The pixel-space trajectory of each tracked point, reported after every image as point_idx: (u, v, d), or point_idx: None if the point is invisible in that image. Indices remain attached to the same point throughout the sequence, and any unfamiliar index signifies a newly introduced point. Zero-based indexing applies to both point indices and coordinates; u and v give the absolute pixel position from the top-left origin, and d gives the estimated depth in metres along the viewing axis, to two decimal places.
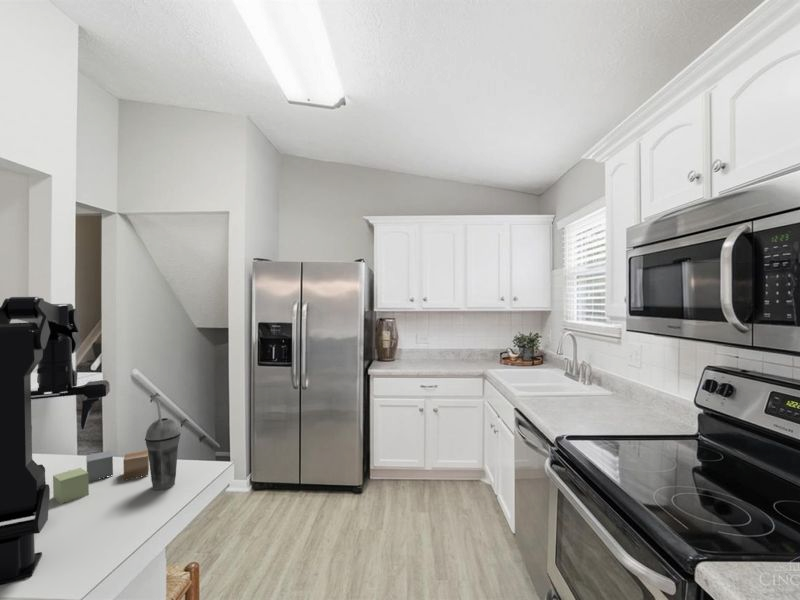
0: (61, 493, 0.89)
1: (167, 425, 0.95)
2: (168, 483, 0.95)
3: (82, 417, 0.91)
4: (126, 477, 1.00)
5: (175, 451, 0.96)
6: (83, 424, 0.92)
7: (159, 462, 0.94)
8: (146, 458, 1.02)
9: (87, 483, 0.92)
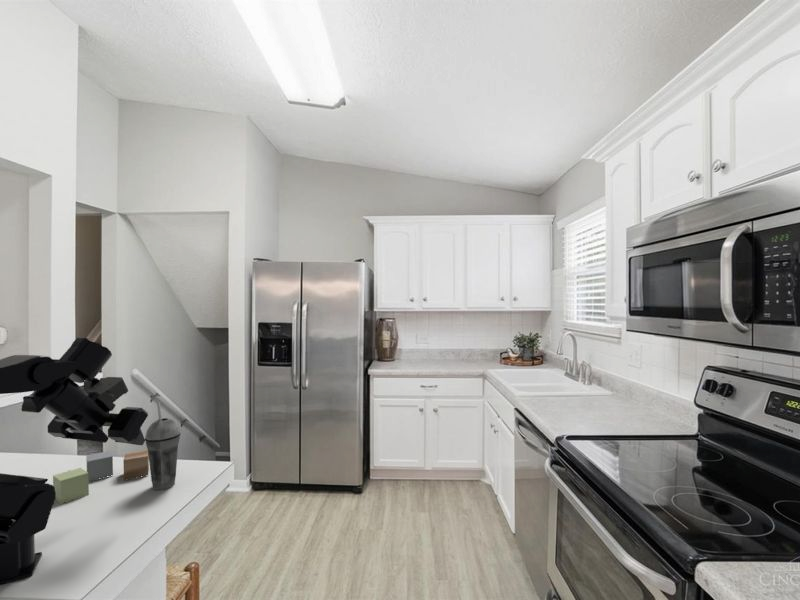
0: (61, 493, 0.89)
1: (167, 425, 0.95)
2: (168, 483, 0.95)
3: None
4: (126, 477, 1.00)
5: (175, 451, 0.96)
6: (138, 444, 0.84)
7: (159, 462, 0.94)
8: (146, 458, 1.02)
9: (87, 483, 0.92)
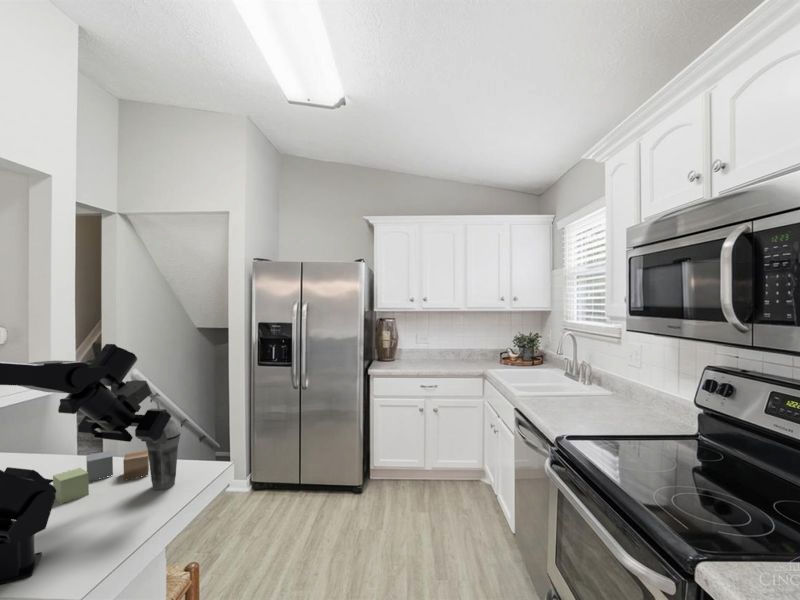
0: (61, 493, 0.89)
1: (167, 425, 0.95)
2: (168, 483, 0.95)
3: None
4: (126, 477, 1.00)
5: (175, 451, 0.96)
6: (161, 443, 0.90)
7: (159, 462, 0.94)
8: (146, 458, 1.02)
9: (87, 483, 0.92)
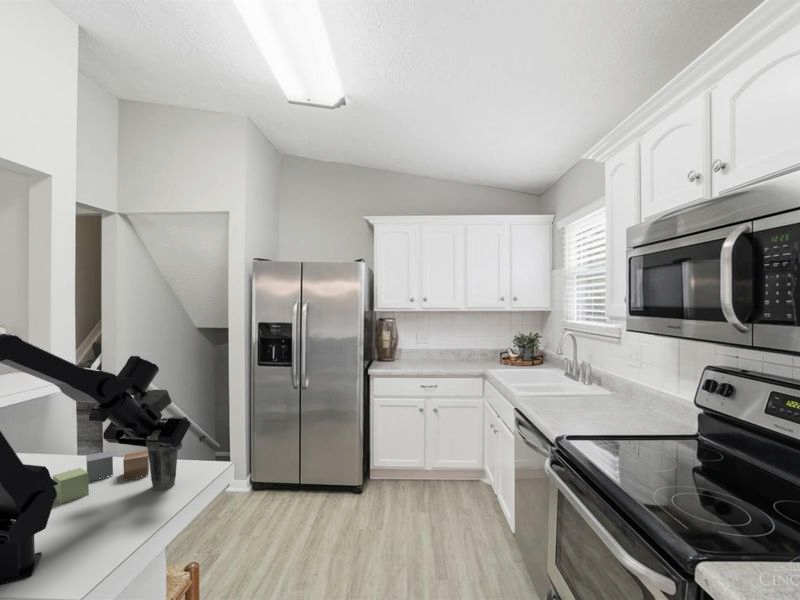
0: (61, 493, 0.89)
1: None
2: (168, 483, 0.95)
3: (171, 448, 0.94)
4: (126, 477, 1.00)
5: (175, 451, 0.96)
6: None
7: (159, 462, 0.94)
8: (146, 458, 1.02)
9: (87, 483, 0.92)
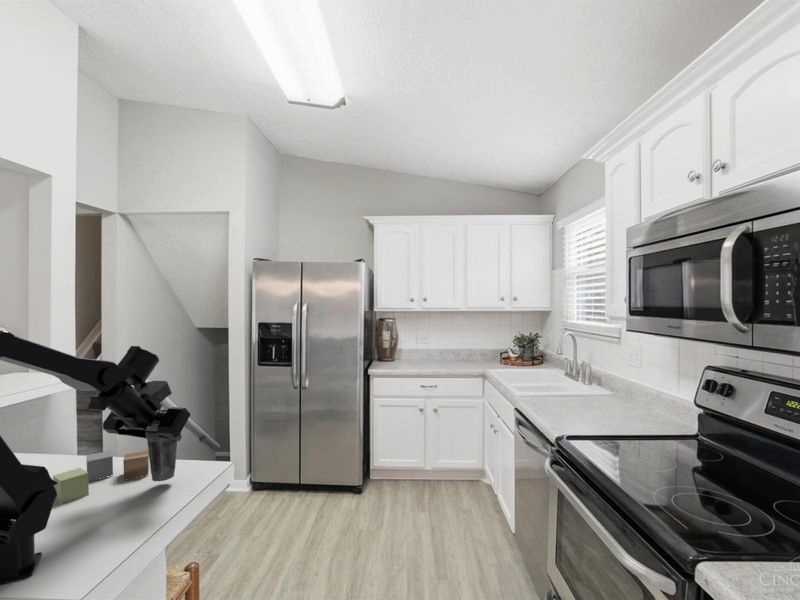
0: (61, 493, 0.89)
1: None
2: (167, 474, 0.95)
3: (170, 439, 0.94)
4: (126, 477, 1.00)
5: (175, 442, 0.96)
6: (176, 440, 0.95)
7: (158, 453, 0.94)
8: (146, 458, 1.02)
9: (87, 483, 0.92)
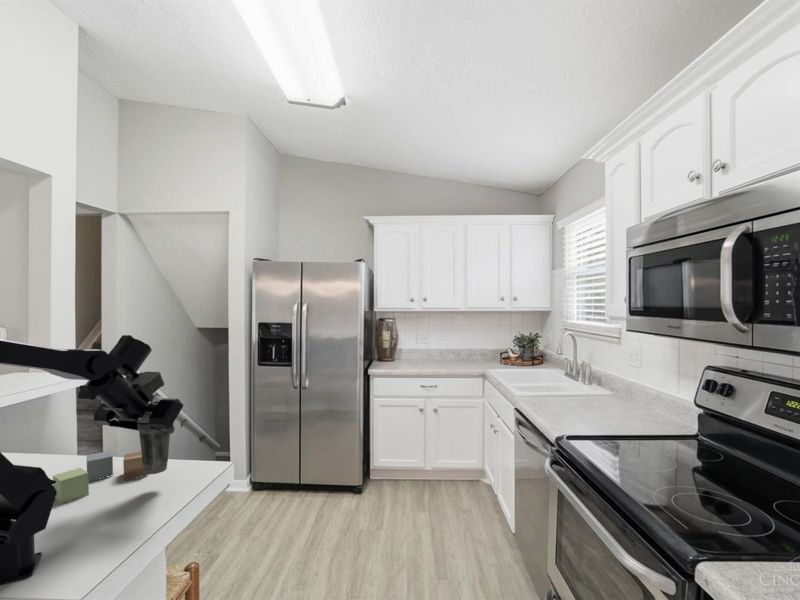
0: (61, 493, 0.89)
1: None
2: (160, 467, 0.93)
3: (162, 431, 0.92)
4: (126, 477, 1.00)
5: (167, 435, 0.94)
6: (168, 432, 0.93)
7: (151, 445, 0.91)
8: None
9: (87, 483, 0.92)
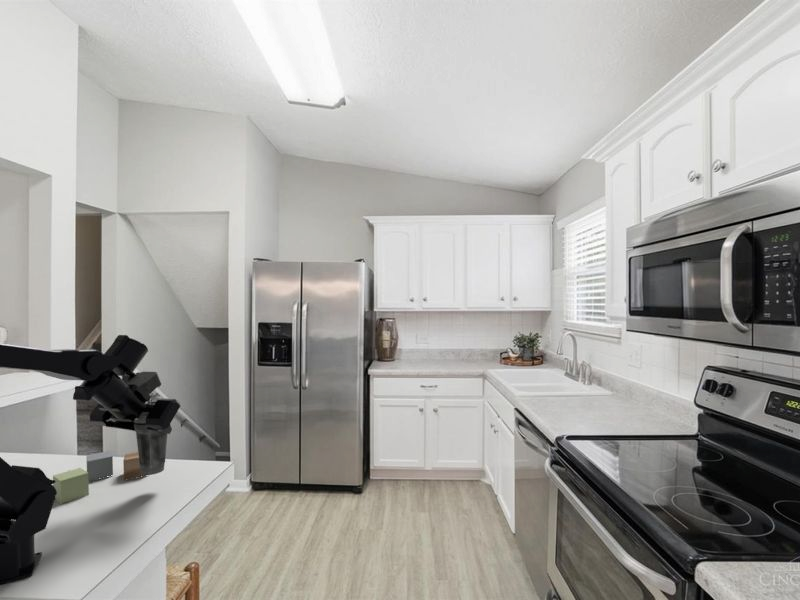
0: (61, 493, 0.89)
1: None
2: (157, 468, 0.92)
3: None
4: (126, 477, 1.00)
5: (164, 435, 0.93)
6: (166, 433, 0.92)
7: (148, 446, 0.91)
8: None
9: (87, 483, 0.92)
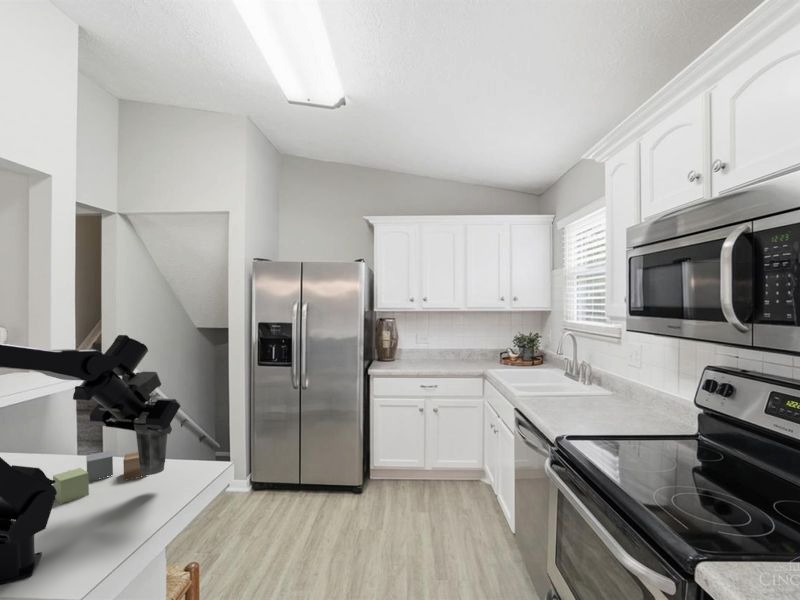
0: (61, 493, 0.89)
1: None
2: (157, 468, 0.92)
3: None
4: (126, 477, 1.00)
5: (164, 435, 0.93)
6: (166, 433, 0.92)
7: (148, 446, 0.91)
8: None
9: (87, 483, 0.92)
